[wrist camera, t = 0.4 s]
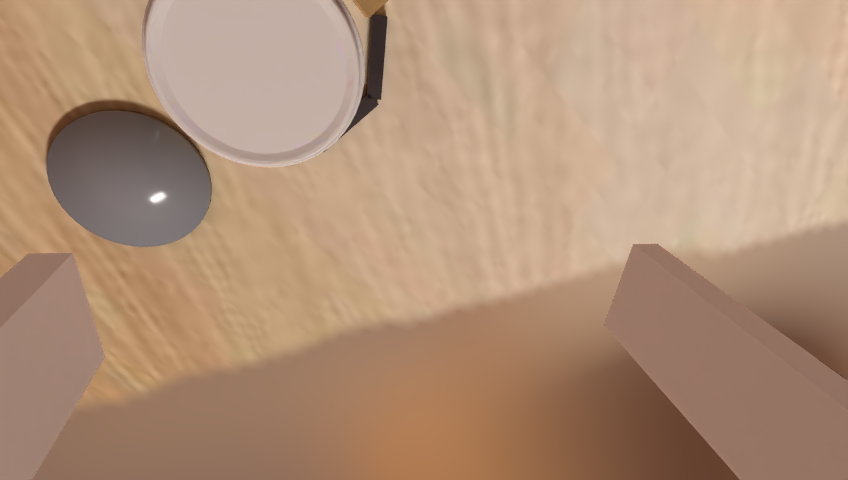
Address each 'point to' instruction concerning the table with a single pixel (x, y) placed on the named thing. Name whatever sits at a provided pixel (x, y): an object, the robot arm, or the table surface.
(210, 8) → the coffee cup
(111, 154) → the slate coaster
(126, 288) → the table surface
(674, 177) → the table surface
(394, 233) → the table surface
